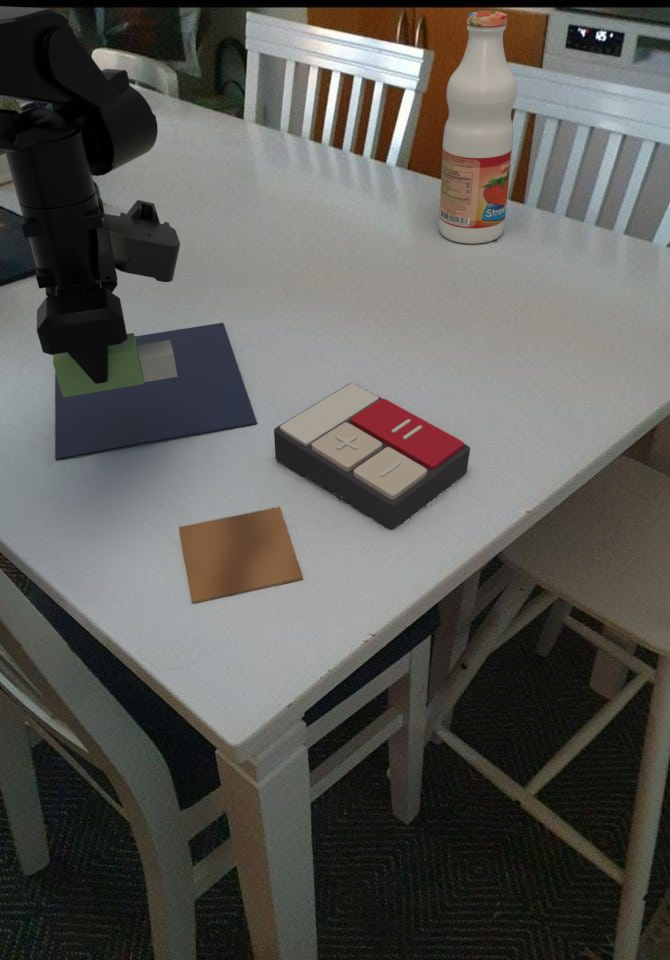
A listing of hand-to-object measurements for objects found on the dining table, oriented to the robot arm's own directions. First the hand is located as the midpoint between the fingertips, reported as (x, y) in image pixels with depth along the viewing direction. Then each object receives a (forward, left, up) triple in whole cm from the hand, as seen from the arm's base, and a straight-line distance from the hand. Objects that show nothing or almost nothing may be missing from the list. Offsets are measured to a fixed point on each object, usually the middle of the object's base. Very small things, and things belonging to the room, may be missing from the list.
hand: (100, 372), depth 71 cm
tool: (+2, 0, -1) cm, 2 cm away
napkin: (+4, +14, -11) cm, 18 cm away
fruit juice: (+53, +41, -11) cm, 67 cm away
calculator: (+23, -7, -11) cm, 26 cm away
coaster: (+9, -15, -11) cm, 20 cm away
